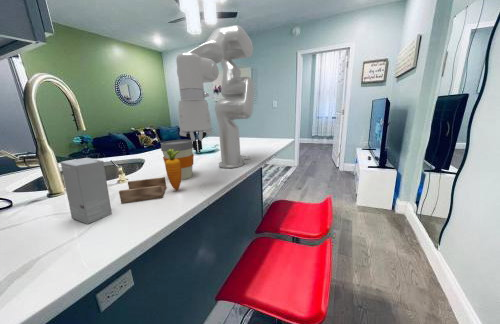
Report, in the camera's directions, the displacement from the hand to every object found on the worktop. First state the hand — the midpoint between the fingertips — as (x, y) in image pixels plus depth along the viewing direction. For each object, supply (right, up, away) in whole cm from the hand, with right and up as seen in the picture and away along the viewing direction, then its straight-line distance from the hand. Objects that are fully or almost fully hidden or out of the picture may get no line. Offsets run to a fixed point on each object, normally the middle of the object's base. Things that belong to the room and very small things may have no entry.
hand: (198, 152), depth 71 cm
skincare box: (-25, -18, -14) cm, 34 cm away
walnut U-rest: (-18, -15, -1) cm, 23 cm away
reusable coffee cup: (-11, -10, +17) cm, 23 cm away
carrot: (-8, -14, +2) cm, 16 cm away
